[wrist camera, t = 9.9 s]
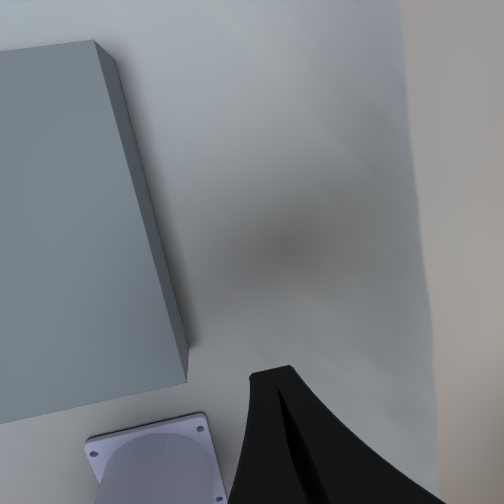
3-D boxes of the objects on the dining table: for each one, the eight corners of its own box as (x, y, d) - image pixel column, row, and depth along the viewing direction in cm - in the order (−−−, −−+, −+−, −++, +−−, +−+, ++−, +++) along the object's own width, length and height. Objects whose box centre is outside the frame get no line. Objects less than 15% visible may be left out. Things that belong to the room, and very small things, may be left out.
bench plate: (189, 349, 20) (186, 382, 17) (-49, 400, 19) (-93, 444, 16) (114, 59, 15) (93, 39, 12) (-224, 104, 14) (-336, 93, 11)
